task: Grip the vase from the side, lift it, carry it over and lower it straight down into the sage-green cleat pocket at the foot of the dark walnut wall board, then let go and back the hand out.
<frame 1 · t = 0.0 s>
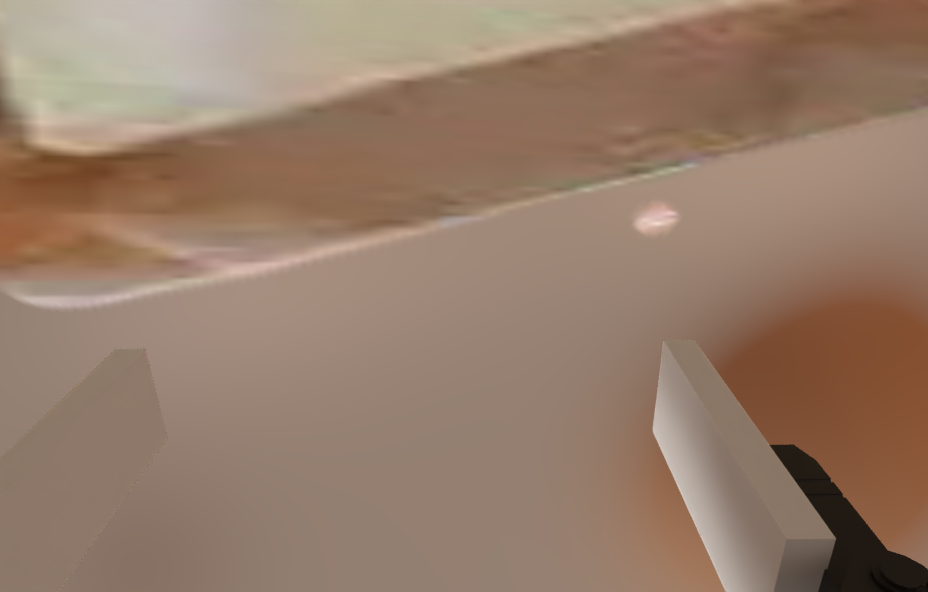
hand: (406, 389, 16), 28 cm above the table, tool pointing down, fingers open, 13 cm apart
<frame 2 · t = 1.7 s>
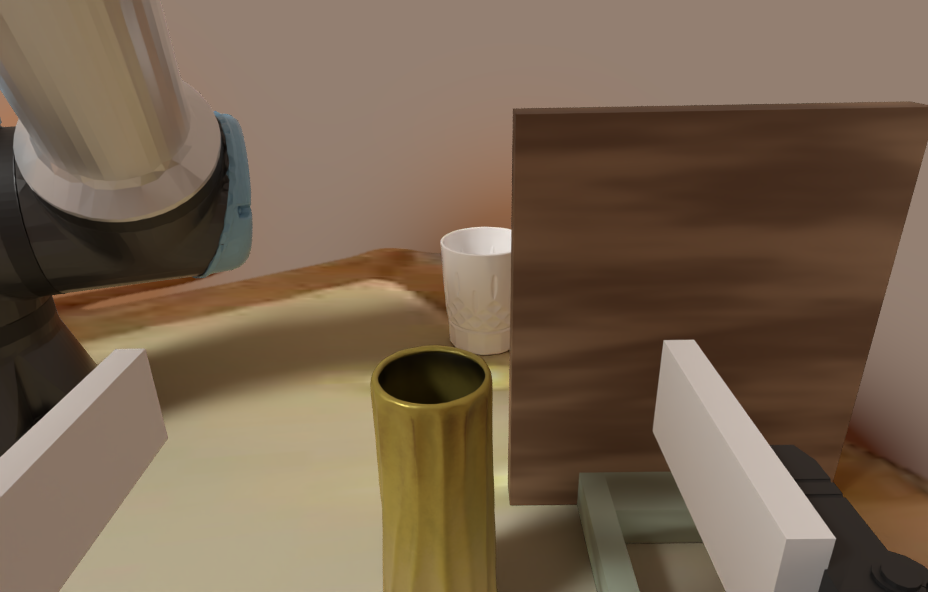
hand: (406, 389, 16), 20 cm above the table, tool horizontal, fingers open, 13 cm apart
white cup: (484, 340, 61), on the table
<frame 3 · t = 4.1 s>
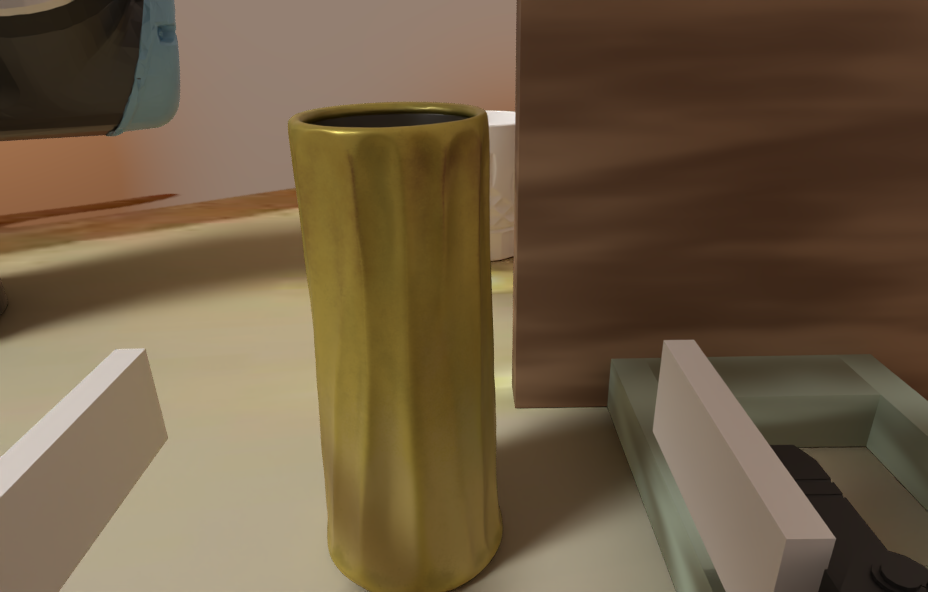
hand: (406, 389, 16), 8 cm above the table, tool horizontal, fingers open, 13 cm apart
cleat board: (815, 523, 22), on the table
white cup: (481, 250, 50), on the table
vase: (416, 534, 22), on the table
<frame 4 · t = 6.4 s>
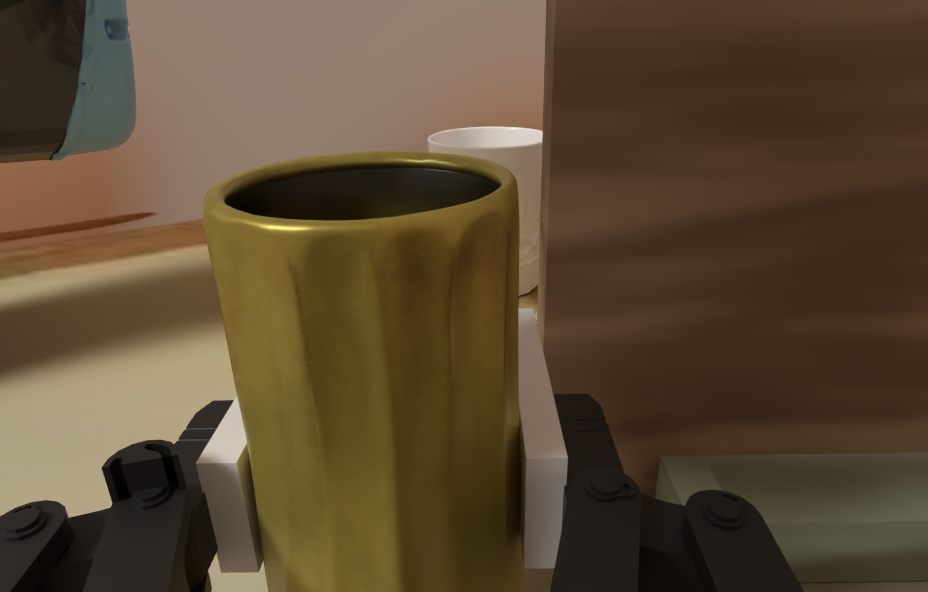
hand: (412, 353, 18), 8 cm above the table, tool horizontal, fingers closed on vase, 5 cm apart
white cup: (490, 284, 44), on the table
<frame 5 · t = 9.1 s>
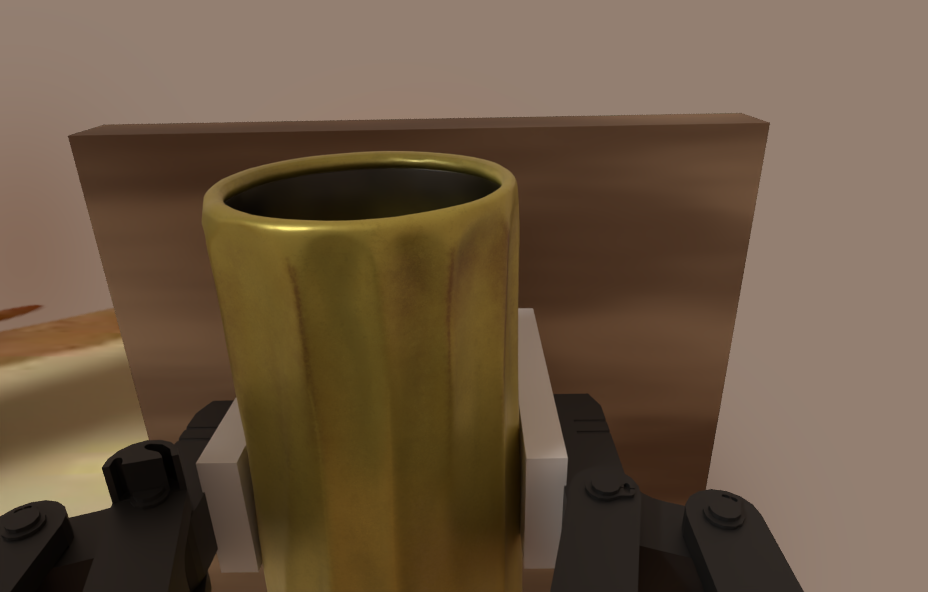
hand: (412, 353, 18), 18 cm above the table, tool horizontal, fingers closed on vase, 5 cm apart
when the fingers open (9 cm above the table, at t = 11.9 s): vase drops 1 cm, resting in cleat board.
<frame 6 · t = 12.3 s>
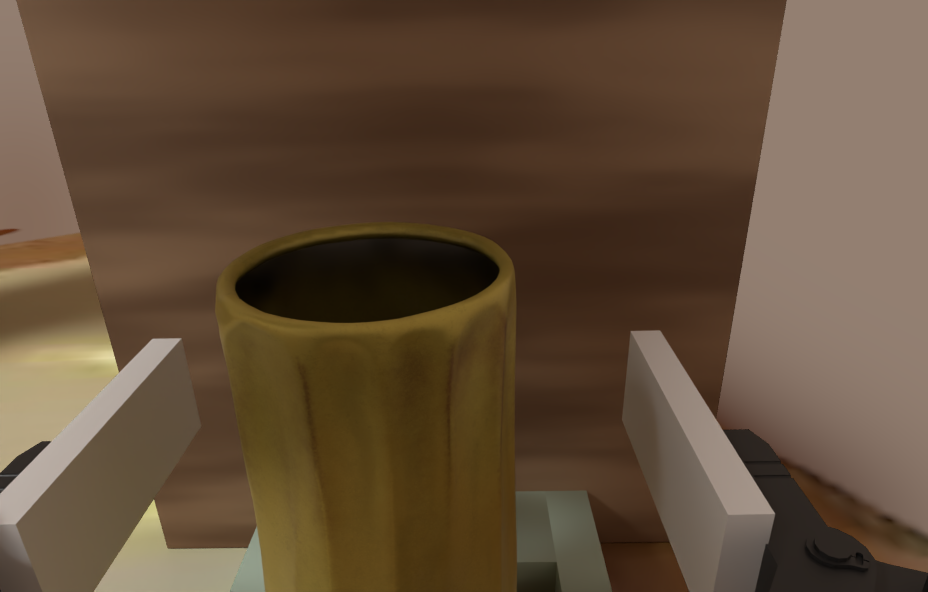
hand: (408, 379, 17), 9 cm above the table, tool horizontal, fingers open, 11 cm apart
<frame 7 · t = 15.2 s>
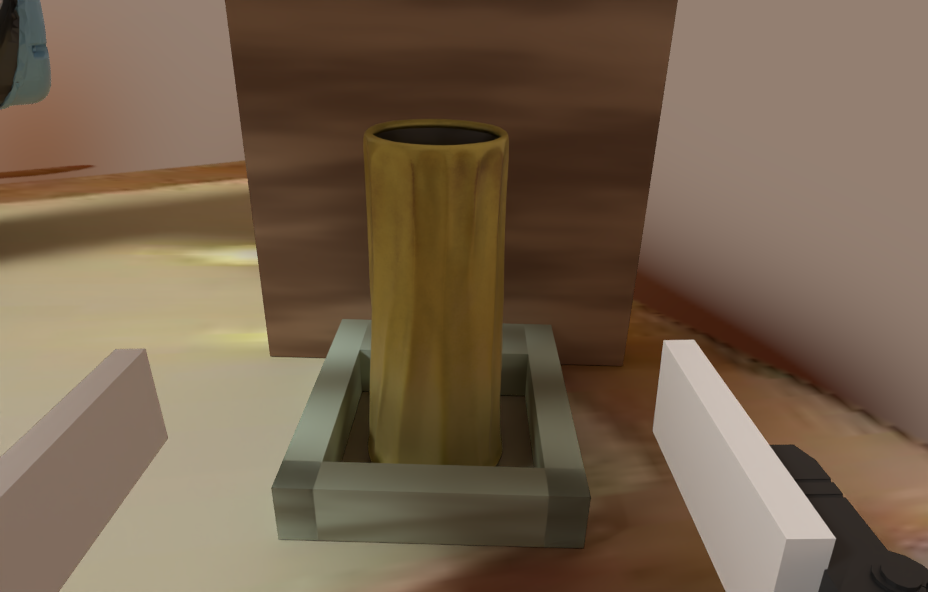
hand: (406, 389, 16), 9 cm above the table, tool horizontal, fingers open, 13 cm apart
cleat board: (439, 445, 29), on the table
vase: (435, 450, 29), resting in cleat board
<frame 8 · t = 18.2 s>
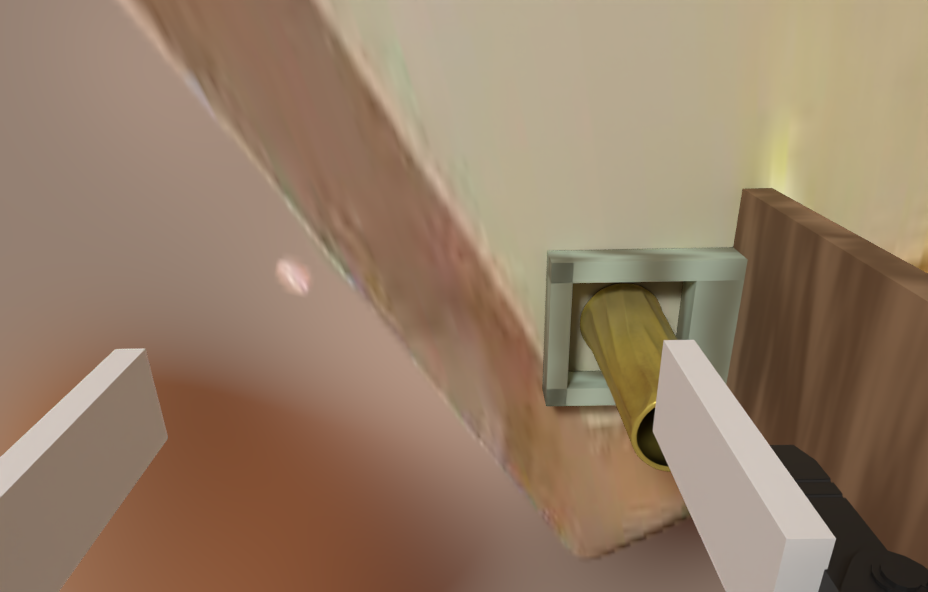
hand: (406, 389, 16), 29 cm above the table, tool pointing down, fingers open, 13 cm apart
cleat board: (621, 321, 47), on the table
vase: (619, 318, 47), resting in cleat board
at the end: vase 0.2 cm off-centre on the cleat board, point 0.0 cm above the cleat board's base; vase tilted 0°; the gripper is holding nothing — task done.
